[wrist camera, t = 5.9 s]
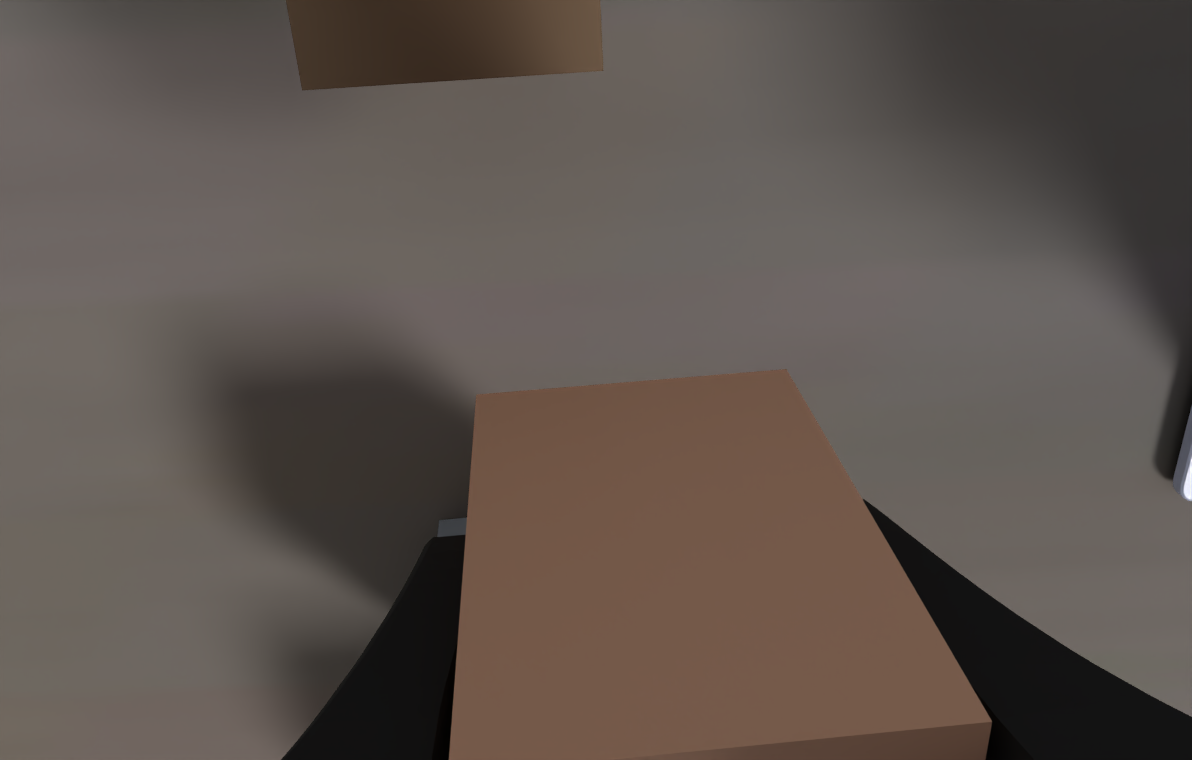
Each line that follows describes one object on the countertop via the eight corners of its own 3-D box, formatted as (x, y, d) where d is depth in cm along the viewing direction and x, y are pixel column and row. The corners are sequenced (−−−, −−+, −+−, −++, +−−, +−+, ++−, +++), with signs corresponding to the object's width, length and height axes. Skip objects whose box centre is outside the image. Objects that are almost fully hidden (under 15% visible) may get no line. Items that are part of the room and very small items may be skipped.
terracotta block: (786, 369, 12) (992, 721, 7) (776, 612, 14) (935, 1040, 9) (476, 394, 12) (447, 775, 7) (506, 637, 14) (501, 1090, 9)
